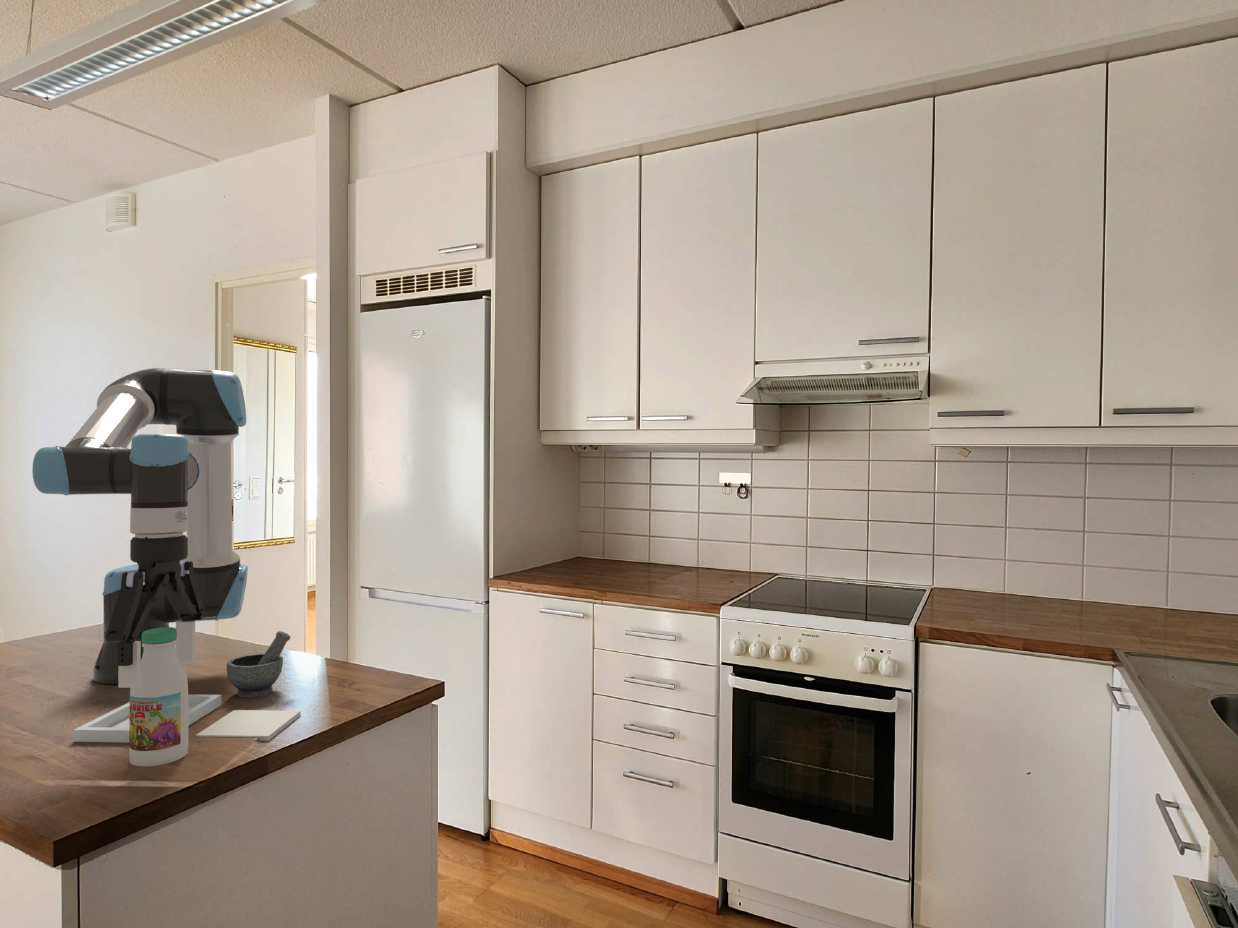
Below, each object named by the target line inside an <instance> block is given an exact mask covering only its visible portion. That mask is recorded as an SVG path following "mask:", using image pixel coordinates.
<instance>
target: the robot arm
mask: <svg viewBox="0 0 1238 928" xmlns="http://www.w3.org/2000/svg"><path fill="white" fill-rule="evenodd" d="M96 400H97V401H96V409H95V410H94V411H93V412H92V413H91V414H90V416H89V417H88V419H86V421H85V422H84V423H83V425H82V426H81V427H80V428H79V430H78V431H77V432H76V434H75V435H74V436H73V437H72V438H71V439H70V440H69V442H68V443H67V444H66V445H65V446H60V445H55V446H48V447H41V448H39V449H38V450H37V451H36V452H35V453H34V457H33V460H32V461H33V462H32V480H33V484H34V486H35V488H36V489H37V491H39V492H40V493H42V494H45V495H64V496H70V495H76V496H77V495H115V494H116V495H118V494H119V495H128V494H129V495H130V516H129V517H130V518H129V520H130V521H129V533H130V534H132V535H134V537H132V538H130V540H129V541H130V544H129V545H130V546H129V547H130V548H129V549H130V550H129V551H130V555H129V556H130V561H131V562H133V563H134V564H130V565H125V566H122V567H118V568H115V569H114V568H113V569H112V570H110V571H108V572H107V573H106V575H105V577H104V579H103V580H104V581H103V592H102V596H103V641H102V644H101V648H100V650H99V653H98V655H97V658H96V660H95V661H96V662H95V664H94V666H93V669H92V670H93V671H92V672H93V674H92V676H93V678H92V680H93V681H94V682H95V683H98V684H102V685H118V689H119V688H122V689H123V688H126V689H127V688H129V689H130V688H138V687H140V674H141V659H142V656H143V652H144V648H143V647H142V633H143V632H144V631H146V630H150V629H155V628H170V623H172V624H173V623H175V629H176V630H177V638H176V641H177V643H176V644H175V650H176V653H177V656H178V658H179V660H180V662H181V663H194V662H196V622H201V621H202V622H204V621H217V622H218V621H219V620H228V619H234V618H237V617H238V616H239V615H240V613H241V612H242V609H243V604H244V600H245V593H246V587H247V581H248V569H249V567H248V565H246V564H243V563H242V564H241V556H240V555H239V554H237V553H236V552H235V551H234V550H233V516H232V515H233V510H232V509H233V507H232V505H233V504H232V501H233V500H232V441H234V440H235V438H237V437H238V436H239V435H240V433H239V432H240V431H239V429H240V428H242V427H245V426H246V425H247V415H246V414H247V409H246V408H247V407H246V402H245V401H246V400H245V395H244V390H243V386H242V383H241V380H240V378H239V376H238V375H237V374H236V373H234V372H232V371H225V370H224V371H223V370H216V369H186V368H185V369H183V368H182V369H181V368H166V367H164V368H163V367H154V368H152V367H151V368H147V369H140V370H138V371H135V372H132V373H128V374H127V375H125V376H122V377H120V378H118V379H116V380H115V381H112V382H111V383H110V384H109V385H107V386H106V387H105V388H104V389H103V390H102V392H101V393H100V394H99V396H98V398H97V399H96ZM148 425H166V426H167V425H168V426H169V425H170V426H176V427H175V429H176V431H175V432H176V433H175V434H169V433H168V434H165V433H164V434H163V433H161V434H159V433H145V434H144V433H139V434H137V432H139V430H141V429H143V428H145V427H146V426H148ZM130 444H131V447H129V445H130ZM184 533H186V535H185V534H184Z"/></svg>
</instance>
